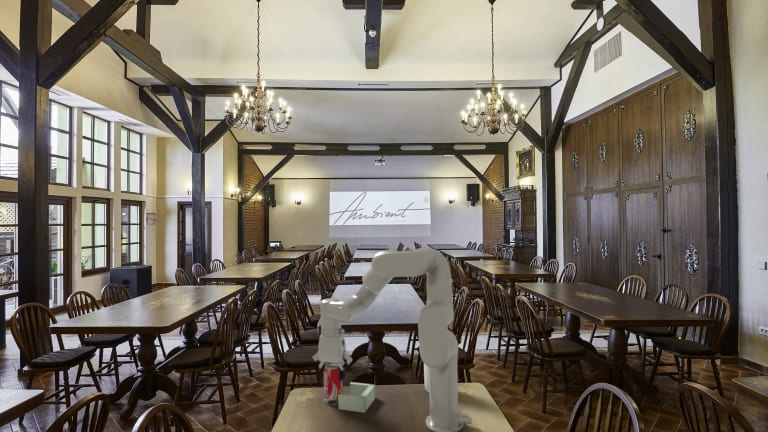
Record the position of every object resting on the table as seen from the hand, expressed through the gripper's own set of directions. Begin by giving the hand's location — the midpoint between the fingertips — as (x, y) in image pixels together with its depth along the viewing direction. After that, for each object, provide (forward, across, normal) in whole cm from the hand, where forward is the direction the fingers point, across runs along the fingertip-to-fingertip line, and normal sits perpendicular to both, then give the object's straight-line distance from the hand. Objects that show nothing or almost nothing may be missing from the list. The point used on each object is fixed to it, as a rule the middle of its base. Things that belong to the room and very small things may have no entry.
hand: (332, 378), depth 155 cm
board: (+10, -3, 0) cm, 10 cm away
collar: (+8, -10, 0) cm, 13 cm away
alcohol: (+10, -35, -22) cm, 42 cm away
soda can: (+7, 0, 0) cm, 7 cm away
